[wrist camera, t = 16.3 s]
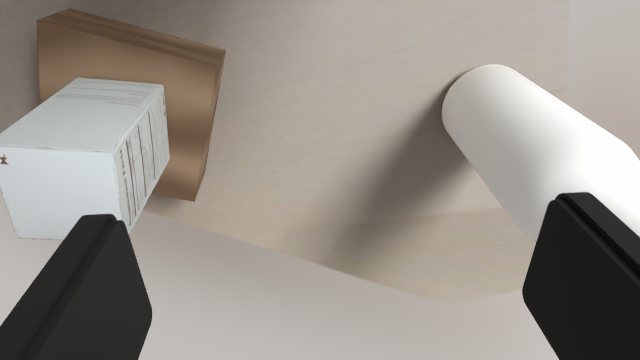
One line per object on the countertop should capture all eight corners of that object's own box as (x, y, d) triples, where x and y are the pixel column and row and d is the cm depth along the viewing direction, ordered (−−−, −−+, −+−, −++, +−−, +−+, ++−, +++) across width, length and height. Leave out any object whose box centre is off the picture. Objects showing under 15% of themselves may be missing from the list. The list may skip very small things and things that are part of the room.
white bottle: (539, 77, 44) (891, 294, 18) (495, 150, 48) (729, 413, 22) (464, 49, 42) (734, 248, 16) (424, 128, 46) (590, 386, 20)
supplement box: (90, 153, 39) (11, 240, 29) (76, 74, 36) (-21, 141, 25) (172, 159, 40) (126, 247, 29) (167, 83, 36) (111, 151, 26)
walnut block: (71, 7, 39) (36, 20, 33) (226, 49, 41) (216, 66, 36) (71, 143, 45) (43, 171, 40) (205, 171, 48) (194, 201, 43)
